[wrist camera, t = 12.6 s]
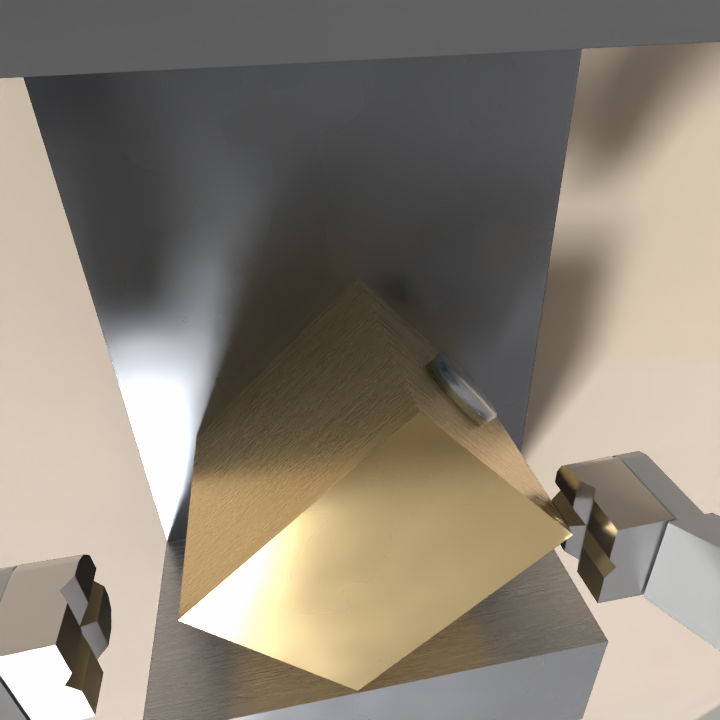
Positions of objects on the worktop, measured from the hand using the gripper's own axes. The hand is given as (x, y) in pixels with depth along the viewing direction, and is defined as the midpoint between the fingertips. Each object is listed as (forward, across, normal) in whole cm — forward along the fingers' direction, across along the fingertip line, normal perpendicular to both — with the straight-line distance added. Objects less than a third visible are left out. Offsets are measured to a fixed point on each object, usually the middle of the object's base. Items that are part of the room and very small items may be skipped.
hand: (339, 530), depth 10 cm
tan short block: (+3, -1, 0) cm, 3 cm away
